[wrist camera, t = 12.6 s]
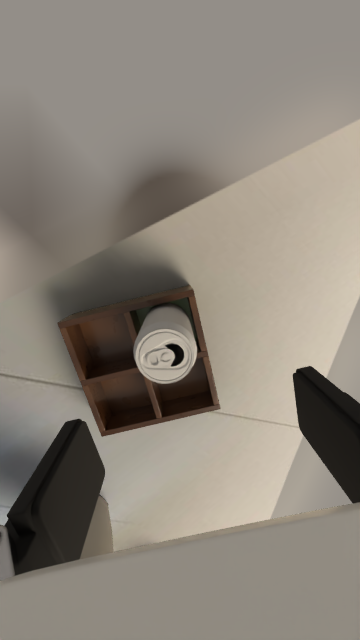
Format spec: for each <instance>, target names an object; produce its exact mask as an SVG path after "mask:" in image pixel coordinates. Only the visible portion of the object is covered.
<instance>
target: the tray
mask: <svg viewBox="0 0 360 640" xmlns="http://www.w3.org/2000/svg"><path fill="white" fill-rule="evenodd" d="M162 303H172V304H176V305H178V306H180V307H181V308H182V309H183V310H184V311H185V312H186V313H187V315H188V317H189V320H190V324H191V327H192V331H193V335H194V338H195V342H196V346H197V356H196V360H195V363H194V365H193V366H192V368H191V370H190V371H189V373H188V374H187V375H186V376H185V377H184V378H182V379H181V380H179V381H177V382H174V383H168V384H162V383H157V382H153V381H151V380H149V379H148V378H146V377H145V376H144V375H143V374H142V373H141V372H140V370H139V369H138V366H137V364H136V362H135V359H134V352H133V349H134V344H135V341H136V338H137V336H138V334H139V331H140V329H141V327H142V325H143V322H144V320H145V318H146V315H147V314H148V312H149V311H150V310H151V309H152V308H153V307H155V306H156V305H159V304H162ZM58 326H59V328H60V331H61V334H62V336H63V339H64V341H65V344H66V346H67V349H68V351H69V354H70V357H71V359H72V362H73V364H74V367H75V369H76V372H77V374H78V377H79V380H80V382H81V384H82V387H83V390H84V392H85V395H86V398H87V400H88V403H89V405H90V408H91V410H92V413H93V415H94V418H95V421H96V423H97V426H98V428H99V431H100V433H101V436H102V437H103V436H107V435H111V434H115V433H120V432H124V431H128V430H132V429H137V428H141V427H145V426H149V425H154V424H158V423H162V422H167V421H171V420H175V419H179V418H184V417H188V416H192V415H196V414H201V413H205V412H209V411H213V410H218V409H220V404H219V400H218V396H217V391H216V387H215V383H214V378H213V374H212V369H211V365H210V361H209V356H208V352H207V348H206V343H205V339H204V335H203V330H202V326H201V322H200V317H199V313H198V308H197V304H196V300H195V296H194V291H193V289H192V287H191V286H190V285H188V286H184V287H180V288H176V289H172V290H168V291H164V292H160V293H156V294H151V295H147V296H143V297H139V298H135V299H131V300H127V301H123V302H119V303H115V304H111V305H107V306H103V307H99V308H95V309H91V310H87V311H83V312H79V313H75V314H72V315H70V316H68V317H67V318H65V319H63V320H62V321H60V322H58Z"/></svg>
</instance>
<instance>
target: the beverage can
mask: <svg viewBox="0 0 360 640" xmlns="http://www.w3.org/2000/svg"><path fill="white" fill-rule="evenodd" d="M133 352H134V359H135V362H136V364H137V366H138V369H139V370H140V372H141V373H142V374H143V375H144V376H145V377H146V378H148V379H149V380H151V381H153V382H157V383H162V384H168V383H174V382H177V381H179V380H181V379H182V378H184V377H185V376H186V375H187V374H188V373H189V371H190V370H191V368H192V366H193V365H194V363H195V360H196V356H197V346H196V342H195V338H194V335H193V331H192V327H191V324H190V320H189V317H188V315H187V313H186V312H185V311H184V310H183V309H182V308H181V307H180V306H178V305H176V304H172V303H162V304H159V305H156V306H155V307H153V308H152V309H151V310H150V311H149V312H148V314H147V315H146V318H145V320H144V322H143V325H142V327H141V329H140V331H139V334H138V336H137V338H136V341H135V344H134V349H133Z"/></svg>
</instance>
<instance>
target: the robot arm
mask: <svg viewBox="0 0 360 640" xmlns="http://www.w3.org/2000/svg"><path fill="white" fill-rule="evenodd" d="M293 382H294V390H295V398H296V406H297V415H298V423H299V427H300V430H301V432H302V434H303V435H304V436H305V438H306V439H307V440H308V442H309V443H310V445H311V446H312V448H313V449H314V450H315V451H316V453H317V454H318V456H319V457H320V458H321V460H322V461H323V463H324V464H325V466H326V467H327V468H328V470H329V471H330V472H331V474H332V475H333V477H334V478H335V479H336V481H337V482H338V483H339V485H340V486H341V488H342V489H343V490H344V492H345V493H346V495H347V496H348V497H349V499H350V500H351V501H352V503H353V504H348V505H342V506H337V507H331V508H326V509H321V510H315V511H310V512H305V513H300V514H295V515H290V516H285V517H280V518H275V519H270V520H265V521H260V522H255V523H250V524H245V525H240V526H235V527H231V528H226V529H221V530H216V531H211V532H206V533H202V534H197V535H192V536H187V537H182V538H178V539H173V540H168V541H163V542H159V543H154V544H149V545H144V546H140V547H135V548H130V549H126V550H121V551H117V552H112V553H107V554H103V555H98V556H93V557H89V558H84V559H80V557H81V553H82V550H83V547H84V543H85V540H86V537H87V533H88V530H89V527H90V523H91V520H92V517H93V513H94V510H95V507H96V503H97V500H98V497H99V493H100V490H101V487H102V484H103V480H104V477H105V468H104V465H103V463H102V461H101V458H100V456H99V453H98V451H97V448H96V446H95V443H94V441H93V439H92V436H91V434H90V431H89V429H88V426H87V424H86V422H85V421H82V420H81V419H76V420H71V421H67V422H65V424H64V425H63V427H62V428H61V430H60V432H59V433H58V435H57V436H56V438H55V439H54V441H53V443H52V444H51V446H50V447H49V449H48V451H47V452H46V454H45V455H44V457H43V459H42V460H41V462H40V463H39V465H38V466H37V468H36V470H35V471H34V473H33V474H32V476H31V478H30V479H29V481H28V482H27V484H26V486H25V487H24V489H23V490H22V492H21V493H20V495H19V497H18V498H17V500H16V501H15V503H14V505H13V506H12V508H11V509H10V511H9V513H8V514H7V517H8V521H7V523H6V524H5V526H3V525H0V640H360V404H359V403H358V402H357V401H356V400H355V399H353V398H352V397H351V396H350V395H348V394H347V393H345V392H342V391H341V390H340V389H338V388H337V387H336V386H335V385H334V384H333V383H331V382H330V381H329V380H328V379H326V378H325V377H324V376H323V375H321V374H320V373H319V372H318V371H317V370H315V369H314V368H313V367H311V366H308V367H304V368H300V369H297V370H296V373H294V374H293Z"/></svg>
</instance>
